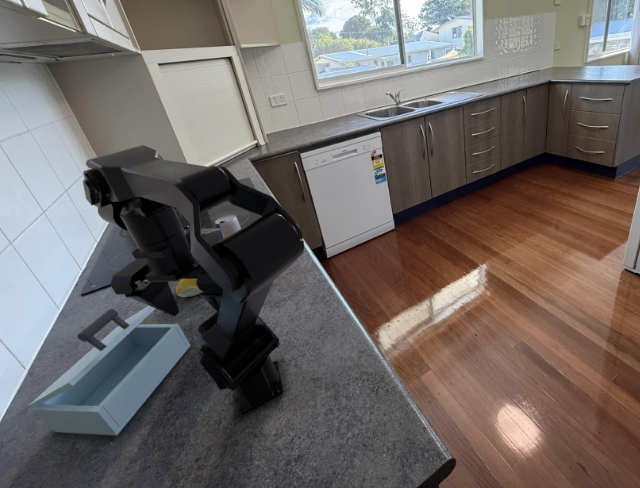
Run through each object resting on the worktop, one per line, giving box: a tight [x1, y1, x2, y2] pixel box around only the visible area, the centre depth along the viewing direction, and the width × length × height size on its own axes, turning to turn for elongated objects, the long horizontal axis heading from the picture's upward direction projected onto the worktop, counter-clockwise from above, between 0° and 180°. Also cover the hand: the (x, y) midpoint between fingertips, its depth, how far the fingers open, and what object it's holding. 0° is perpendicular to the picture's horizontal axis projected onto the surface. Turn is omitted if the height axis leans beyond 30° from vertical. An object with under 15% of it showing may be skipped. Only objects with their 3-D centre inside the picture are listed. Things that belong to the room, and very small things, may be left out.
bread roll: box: [175, 279, 203, 298], centre depth 78 cm, size 8×9×4 cm
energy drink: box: [214, 213, 242, 240], centre depth 86 cm, size 5×5×12 cm
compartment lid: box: [27, 305, 157, 410], centre depth 51 cm, size 12×16×5 cm
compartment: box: [32, 323, 191, 436], centre depth 54 cm, size 12×16×6 cm
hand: (200, 314), depth 51 cm, fingers open, 9 cm apart
